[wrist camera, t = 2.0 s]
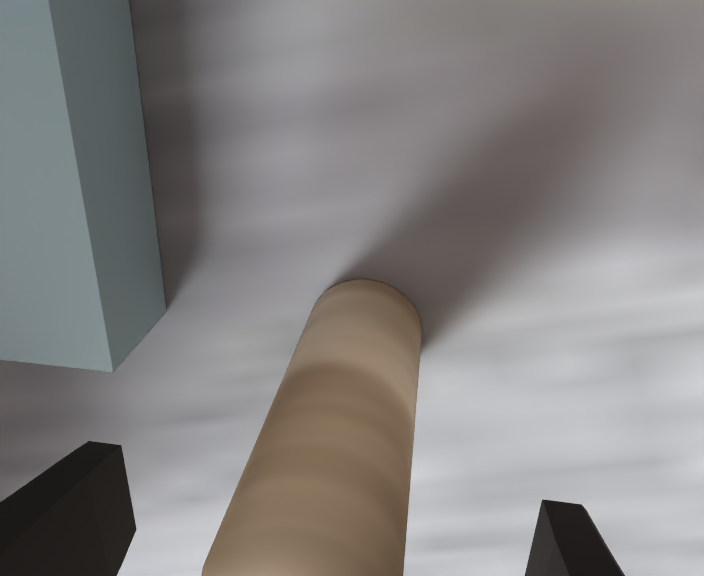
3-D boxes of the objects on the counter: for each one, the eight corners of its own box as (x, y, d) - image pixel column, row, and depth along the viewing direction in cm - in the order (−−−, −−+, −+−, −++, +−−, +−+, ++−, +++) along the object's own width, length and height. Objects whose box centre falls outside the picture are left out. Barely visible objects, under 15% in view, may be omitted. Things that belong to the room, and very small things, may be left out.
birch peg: (417, 383, 17) (393, 677, 10) (309, 371, 17) (209, 647, 10) (426, 284, 15) (406, 541, 8) (309, 274, 16) (192, 512, 9)
